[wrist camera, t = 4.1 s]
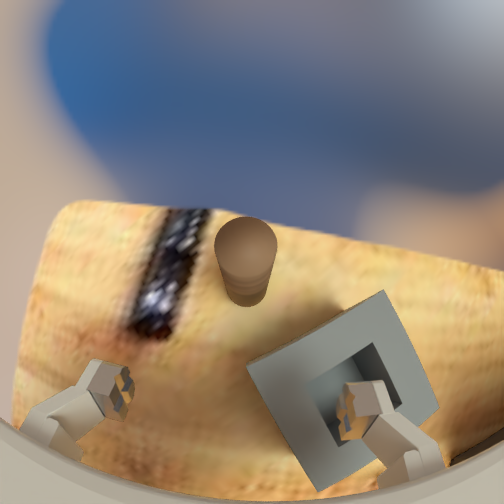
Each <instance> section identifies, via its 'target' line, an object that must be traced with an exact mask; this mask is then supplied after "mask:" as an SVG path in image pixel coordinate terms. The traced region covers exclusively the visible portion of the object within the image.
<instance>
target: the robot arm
mask: <svg viewBox="0 0 504 504" xmlns="http://www.w3.org/2000/svg"><path fill="white" fill-rule="evenodd" d="M129 374H130V371H129V369H128V367H126V366H122V365H118V364H114V363H110V362H107V361H103V360H99V359H95V358H93V359H92V360H91V361H90V362H89V364H88V365H87V367H86V369H85V370H84V372H83V374H82V375H81V377H80V379H79V381H78V382H77V384H76V386H73V385H72V386H70V387H69V388H67V389H65V390H63V391H61V392H60V393H58V394H56V395H54V396H52V397H51V398H49V399H47V400H45V401H43V402H41V403H40V404H38V405H36V406H34V407H32V409H31V410H30V412H29V414H28V415H27V417H26V419H25V421H24V422H23V424H22V426H21V428H20V430H18V429H17V428H15V427H14V426H12V425H10V424H9V423H7V422H6V421H5V420H3V419H2V418H0V504H504V440H503V441H501V442H499V443H497V444H495V445H494V446H492V447H490V448H488V449H486V450H485V451H483V452H481V453H479V454H477V455H475V456H473V457H470V458H468V459H466V460H464V461H462V462H460V463H457V464H455V465H453V466H450V467H448V468H446V467H445V464H444V461H443V458H442V455H441V452H440V450H439V447H438V444H437V442H436V441H435V440H433V439H432V438H431V437H429V436H428V435H427V434H426V433H424V432H423V431H422V430H420V429H419V428H418V427H417V426H415V425H414V424H413V423H412V422H410V421H409V420H408V419H407V418H405V417H404V416H403V415H402V414H400V413H399V412H395V411H394V408H393V405H392V402H391V400H390V397H389V394H388V391H387V389H386V386H385V383H384V381H383V380H376V381H362V382H351V383H345V384H344V385H343V387H342V392H343V393H342V394H340V395H339V396H338V399H337V402H336V415H337V418H338V419H339V420H340V421H341V423H340V425H339V432H340V437H341V441H342V440H353V439H361V440H362V441H363V442H364V443H365V444H366V445H367V447H368V448H369V449H370V450H371V451H372V452H373V453H374V454H375V455H376V457H377V458H378V459H379V460H380V461H381V462H382V463H383V464H384V465H385V466H386V468H387V469H386V470H385V471H384V472H383V473H382V474H380V475H379V476H378V478H377V482H378V488H379V489H378V490H374V491H369V492H364V493H359V494H353V495H347V496H341V497H333V498H325V499H315V500H302V501H240V500H227V499H217V498H209V497H202V496H195V495H189V494H183V493H178V492H173V491H168V490H164V489H160V488H155V487H151V486H147V485H144V484H140V483H137V482H133V481H130V480H127V479H123V478H120V477H117V476H114V475H112V474H109V473H106V472H103V471H101V470H98V469H95V468H93V467H90V466H88V465H85V464H83V463H81V462H80V461H81V458H82V456H83V453H84V452H83V449H82V448H81V447H80V446H79V445H78V444H77V443H76V441H77V440H79V439H80V438H81V437H82V436H84V435H85V434H86V433H87V432H89V431H90V430H91V429H92V428H94V427H95V426H96V425H97V424H99V423H100V422H101V421H102V420H104V419H105V417H106V418H110V419H113V420H117V421H121V422H124V419H125V417H126V414H127V412H128V407H127V404H128V403H129V402H131V401H132V399H133V396H134V391H135V386H134V382H133V379H131V378H130V377H129Z"/></svg>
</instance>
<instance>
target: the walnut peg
mask: <svg viewBox="0 0 504 504" xmlns="http://www.w3.org/2000/svg"><path fill="white" fill-rule="evenodd" d="M214 248H215V254H216V257H217V260H218V264H219V267H220V270H221V273H222V276H223V279H224V282H225V286H226V289H227V292H228V295H229V297H230V298H231V300H232V301H233V302H234V303H236V304H237V305H240V306H243V307H251V306H254V305H256V304H258V303H259V302H260V301H261V300H262V299H263V298H264V296H265V294H266V290H267V286H268V283H269V279H270V275H271V271H272V268H273V264H274V260H275V256H276V252H277V239H276V236H275V234H274V232H273V230H272V229H271V228H270V227H269V226H268V225H267V224H266V223H265V222H263V221H261V220H259V219H257V218H253V217H239V218H235V219H233V220H231V221H229V222H227V223H226V224H225V225H224V226H222V228H221V229H220V230H219V232H218V233H217V235H216V238H215V244H214Z"/></svg>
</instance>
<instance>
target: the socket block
mask: <svg viewBox="0 0 504 504" xmlns="http://www.w3.org/2000/svg"><path fill="white" fill-rule="evenodd" d="M246 368H247V370H248V372H249V374H250V376H251V378H252V380H253V382H254V384H255V385H256V387H257V389H258V391H259V393H260V395H261V397H262V398H263V400H264V402H265V404H266V406H267V408H268V409H269V411H270V413H271V415H272V417H273V418H274V420H275V422H276V424H277V425H278V427H279V429H280V431H281V432H282V434H283V436H284V438H285V439H286V441H287V443H288V445H289V446H290V448H291V450H292V451H293V453H294V455H295V456H296V458H297V460H298V461H299V463H300V465H301V466H302V468H303V469H304V471H305V473H306V474H307V476H308V477H309V479H310V481H311V482H312V484H313V485H314V487H315V489H316V490H317V492H320V491H322V490H324V489H326V488H328V487H329V486H331V485H333V484H335V483H337V482H339V481H340V480H342V479H344V478H346V477H347V476H349V475H351V474H353V473H354V472H356V471H358V470H359V469H361V468H362V467H364V466H366V465H367V464H369V463H370V462H372V461H373V460H375V459H376V458H377V457H376V455H375V454H374V453H373V452H372V451H371V450H370V449H369V448H368V447H367V445H366V444H365V443H364V442H363V441H362V440H361V439H353V440H342V441H341V437H340V432H339V425H340V423H341V421H340V420H339V419H338V418H337V415H336V402H337V399H338V396H339V395H340V394H342V393H343V392H342V387H343V385H344V384H345V383H351V382H362V381H376V380H383V381H384V383H385V386H386V389H387V391H388V394H389V397H390V400H391V402H392V405H393V408H394V411H395V412H399V413H400V414H402V415H403V416H404V417H405V418H407V419H408V420H409V421H410V422H412V423H413V424H414V425H415V426H417V427H418V426H420V425H421V424H422V423H423V422H424V421H425V420H427V419H428V418H429V417H430V416H431V415H432V414H433V413H434V412H435V411H436V410H438V409H439V405H438V402H437V400H436V397H435V395H434V392H433V390H432V388H431V385H430V383H429V381H428V378H427V376H426V374H425V371H424V369H423V367H422V365H421V362H420V360H419V358H418V356H417V354H416V352H415V350H414V347H413V345H412V343H411V341H410V339H409V337H408V335H407V333H406V331H405V329H404V327H403V325H402V323H401V321H400V319H399V317H398V315H397V313H396V312H395V310H394V308H393V306H392V304H391V302H390V300H389V299H388V297H387V295H386V293H385V291H384V289H383V290H382V291H380V292H378V293H376V294H374V295H373V296H371V297H369V298H367V299H365V300H364V301H362V302H360V303H358V304H356V305H354V306H352V307H350V308H348V309H346V310H345V311H343V312H341V313H340V314H338V315H336V316H334V317H333V318H331V319H329V320H328V321H326V322H324V323H322V324H321V325H319V326H317V327H315V328H313V329H312V330H310V331H308V332H306V333H304V334H303V335H301V336H299V337H297V338H295V339H293V340H291V341H290V342H288V343H286V344H284V345H282V346H280V347H278V348H276V349H274V350H272V351H270V352H268V353H266V354H264V355H262V356H260V357H258V358H256V359H254V360H252V361H250V362H247V363H246Z"/></svg>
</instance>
